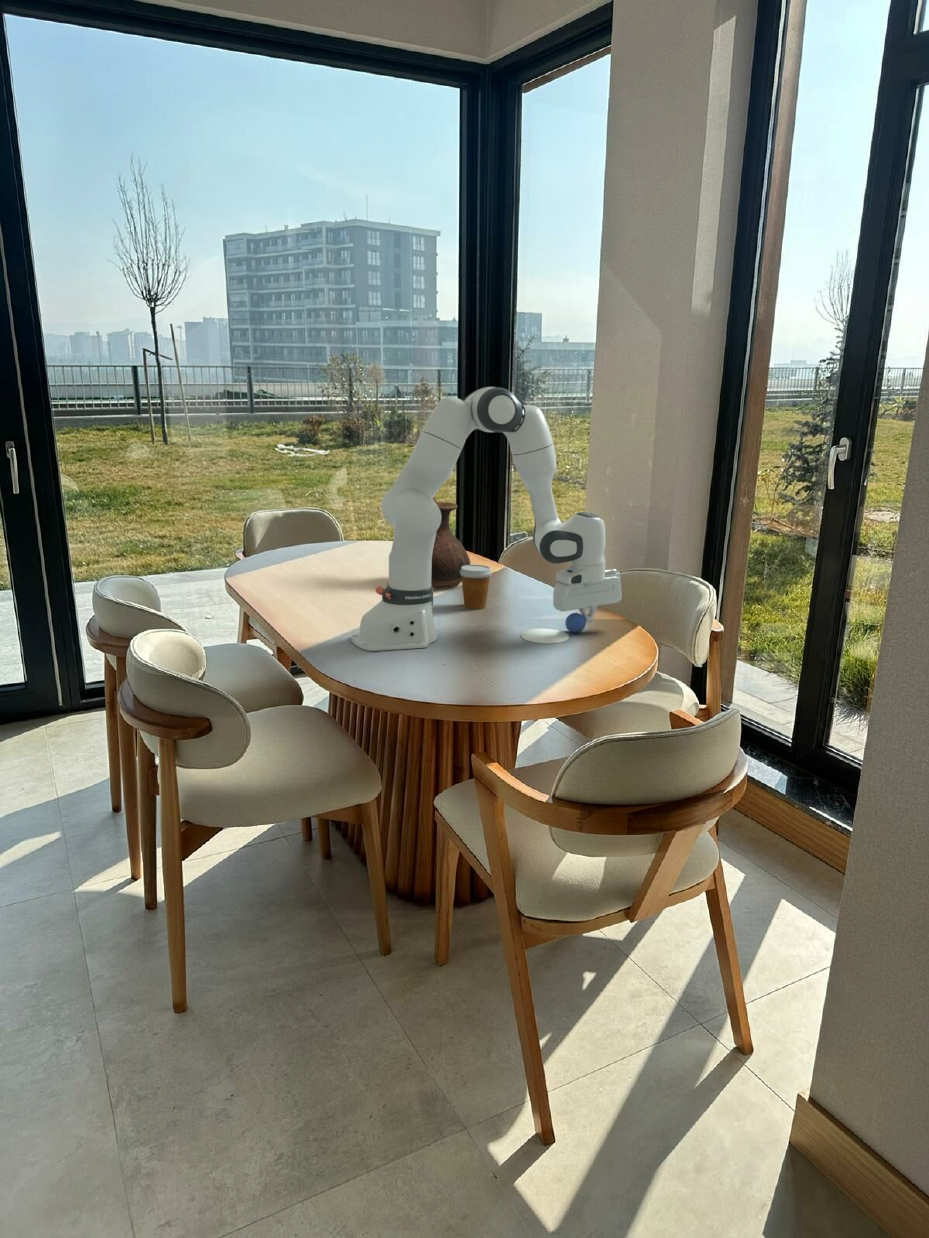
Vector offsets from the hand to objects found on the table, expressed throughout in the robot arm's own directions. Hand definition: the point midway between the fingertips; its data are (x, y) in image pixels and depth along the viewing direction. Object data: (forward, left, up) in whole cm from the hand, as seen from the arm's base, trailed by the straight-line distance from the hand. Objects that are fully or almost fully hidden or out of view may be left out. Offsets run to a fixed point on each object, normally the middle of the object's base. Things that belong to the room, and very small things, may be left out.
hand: (587, 621), depth 238 cm
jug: (-16, +64, -3) cm, 66 cm away
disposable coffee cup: (-17, +34, -3) cm, 38 cm away
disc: (-13, 0, -3) cm, 14 cm away
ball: (-4, 0, 0) cm, 4 cm away
